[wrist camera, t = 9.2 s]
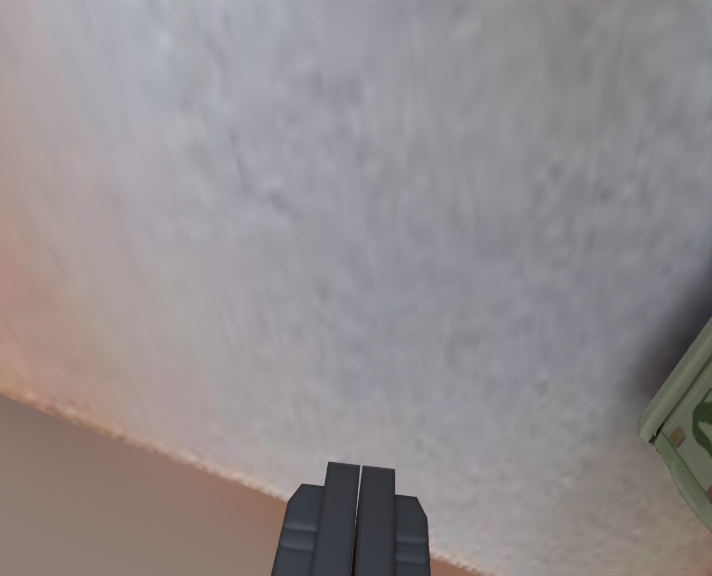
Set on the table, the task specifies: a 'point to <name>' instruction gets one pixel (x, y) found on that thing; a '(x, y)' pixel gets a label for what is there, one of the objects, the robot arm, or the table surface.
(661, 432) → the toy car
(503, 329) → the table surface
